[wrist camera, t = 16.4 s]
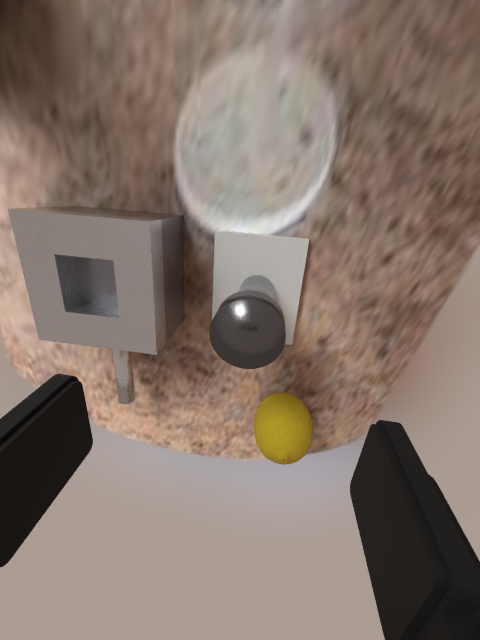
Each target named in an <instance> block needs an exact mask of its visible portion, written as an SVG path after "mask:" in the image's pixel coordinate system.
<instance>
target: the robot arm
mask: <svg viewBox="0 0 480 640" xmlns="http://www.w3.org/2000/svg"><path fill="white" fill-rule="evenodd" d="M92 444H93V439H92V433H91V428H90V423H89V418H88V412H87V407H86V402H85V396H84V391H83V386H82V383H81V382H79V381H78V378H77V377H75V376H69V375H62V374H56V375H54V376H53V377H52V378H50V379H49V380H48V381H47V382H45V383H44V384H43V385H42V386H40V387H39V388H38V389H37V390H36V391H34V392H33V393H32V394H31V395H29V396H28V397H27V398H26V399H24V400H23V401H22V402H21V403H20V404H18V405H17V406H16V407H14V408H13V409H12V410H11V411H9V412H8V413H7V414H6V415H5V416H3V417H2V418H1V419H0V567H3V566H4V565H6V564H7V563H8V562H9V560H10V559H11V558H12V557H13V555H14V554H15V553H16V551H17V550H18V548H19V547H20V546H21V544H22V543H23V542H24V540H25V539H26V538H27V536H28V535H29V534H30V532H31V531H32V529H33V528H34V527H35V525H36V524H37V523H38V521H39V520H40V519H41V517H42V516H43V514H44V513H45V512H46V510H47V509H48V508H49V506H50V505H51V504H52V502H53V501H54V499H55V498H56V497H57V495H58V494H59V493H60V491H61V490H62V489H63V487H64V486H65V484H66V483H67V482H68V480H69V479H70V478H71V476H72V475H73V474H74V472H75V471H76V470H77V468H78V467H79V465H80V464H81V463H82V461H83V460H84V459H85V457H86V456H87V454H88V453H89V452H90V450H91V448H92ZM350 494H351V499H352V503H353V507H354V511H355V516H356V520H357V524H358V528H359V532H360V537H361V541H362V545H363V549H364V554H365V557H366V562H367V566H368V571H369V575H370V579H371V583H372V587H373V592H374V596H375V600H376V604H377V609H378V613H379V617H380V621H381V625H382V629H383V633H384V637H385V640H480V561H479V560H478V558H477V556H476V554H475V552H474V550H473V549H472V547H471V545H470V543H469V541H468V539H467V538H466V536H465V534H464V532H463V530H462V528H461V527H460V525H459V523H458V521H457V519H456V517H455V515H454V514H453V512H452V510H451V508H450V506H449V504H448V503H447V501H446V499H445V498H444V495H443V493H442V492H441V490H440V488H439V486H438V484H437V483H436V481H435V480H434V478H432V477H431V476H430V475H428V473H427V471H426V469H425V467H424V466H423V464H422V462H421V460H420V458H419V456H418V454H417V452H416V451H415V449H414V447H413V445H412V443H411V441H410V439H409V437H408V436H407V434H406V432H405V430H404V428H403V426H402V425H401V424H400V423H397V422H390V421H383V420H379V421H378V422H377V423H376V424H372V425H371V426H370V428H369V431H368V434H367V437H366V440H365V443H364V446H363V448H362V452H361V454H360V457H359V460H358V463H357V466H356V469H355V471H354V474H353V477H352V480H351V484H350Z"/></svg>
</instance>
